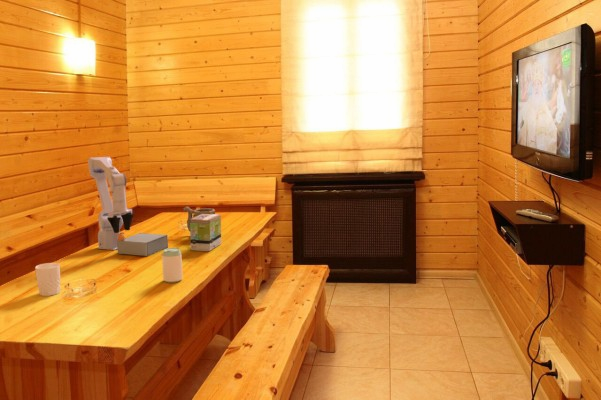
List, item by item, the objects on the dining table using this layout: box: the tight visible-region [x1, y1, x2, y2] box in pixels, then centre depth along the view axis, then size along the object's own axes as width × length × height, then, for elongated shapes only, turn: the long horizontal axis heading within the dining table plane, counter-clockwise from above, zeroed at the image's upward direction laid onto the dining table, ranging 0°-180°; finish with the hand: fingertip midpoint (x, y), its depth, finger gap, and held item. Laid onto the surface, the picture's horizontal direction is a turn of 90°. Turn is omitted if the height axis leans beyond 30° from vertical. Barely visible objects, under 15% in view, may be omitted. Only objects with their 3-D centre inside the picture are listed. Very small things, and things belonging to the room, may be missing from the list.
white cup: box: [34, 262, 61, 297], centre depth 197 cm, size 8×8×10 cm
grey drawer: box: [116, 232, 148, 257], centre depth 248 cm, size 15×3×9 cm, turn 71°
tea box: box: [189, 213, 222, 252], centre depth 261 cm, size 15×10×15 cm
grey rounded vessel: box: [182, 206, 216, 232], centre depth 283 cm, size 20×13×15 cm, turn 58°
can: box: [161, 247, 183, 284], centre depth 210 cm, size 7×7×12 cm
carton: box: [125, 232, 169, 257], centre depth 257 cm, size 15×16×6 cm
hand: (122, 231), depth 249 cm, fingers open, 7 cm apart
